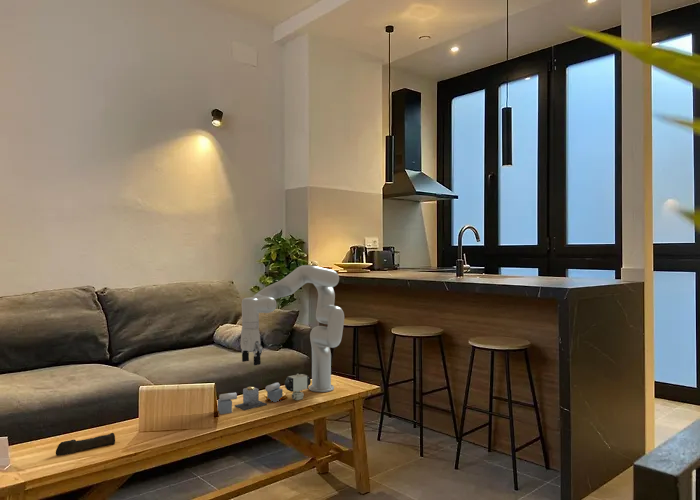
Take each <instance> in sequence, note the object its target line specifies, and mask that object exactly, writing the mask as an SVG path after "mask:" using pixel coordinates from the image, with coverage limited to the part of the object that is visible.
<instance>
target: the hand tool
mask: <svg viewBox="0 0 700 500" xmlns="http://www.w3.org/2000/svg"><path fill="white" fill-rule="evenodd" d="M115 443H116V435H115V433H114V432H111V433H109V434H103V435H98V436H95V437H90V438H86V439H81V440H76V439H71V440H65V441H61V442H60V443H58V445H57V447H56V449H55V456H66V455H72V454H75V453H76V452H79V451H84V450H87V449H92V448H97V447H102V446H107V445H108V446H109V445H111V444H112V445H116V444H115Z"/></svg>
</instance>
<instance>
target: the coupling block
mask: <svg viewBox="0 0 700 500" xmlns="http://www.w3.org/2000/svg"><path fill="white" fill-rule="evenodd" d="M259 394H260V391H259V388H257V387H255V386H247V387H245V388H243V389H242V403H243V404H244V405H246V406H249V407H250V406H254V405H258V404H259V401H260V400H259V399H260V395H259Z"/></svg>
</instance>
